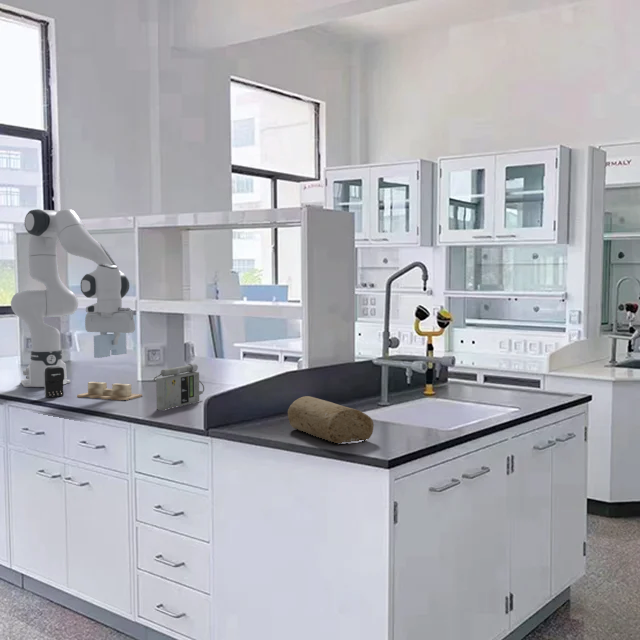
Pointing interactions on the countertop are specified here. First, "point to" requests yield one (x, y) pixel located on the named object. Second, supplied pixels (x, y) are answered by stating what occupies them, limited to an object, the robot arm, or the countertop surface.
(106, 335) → the blue plate
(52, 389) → the battery
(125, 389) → the joint jig
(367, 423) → the core sample
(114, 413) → the countertop surface
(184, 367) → the geiger counter
